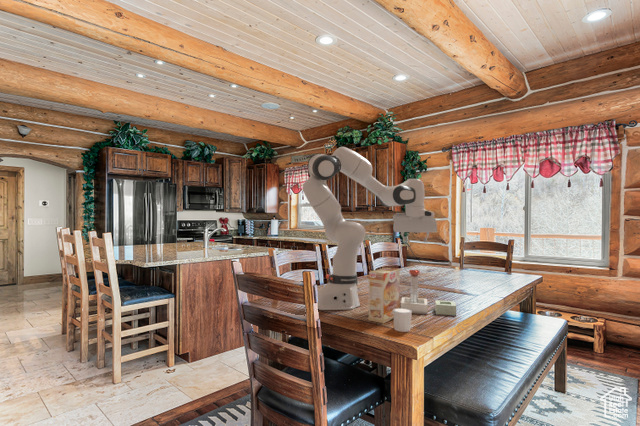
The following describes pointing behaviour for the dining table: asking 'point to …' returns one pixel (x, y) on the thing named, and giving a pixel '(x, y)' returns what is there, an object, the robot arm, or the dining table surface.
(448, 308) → the socket block
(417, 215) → the robot arm
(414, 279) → the pin
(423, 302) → the tray
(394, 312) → the shot glass
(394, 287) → the coffeecake box
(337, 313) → the dining table surface
